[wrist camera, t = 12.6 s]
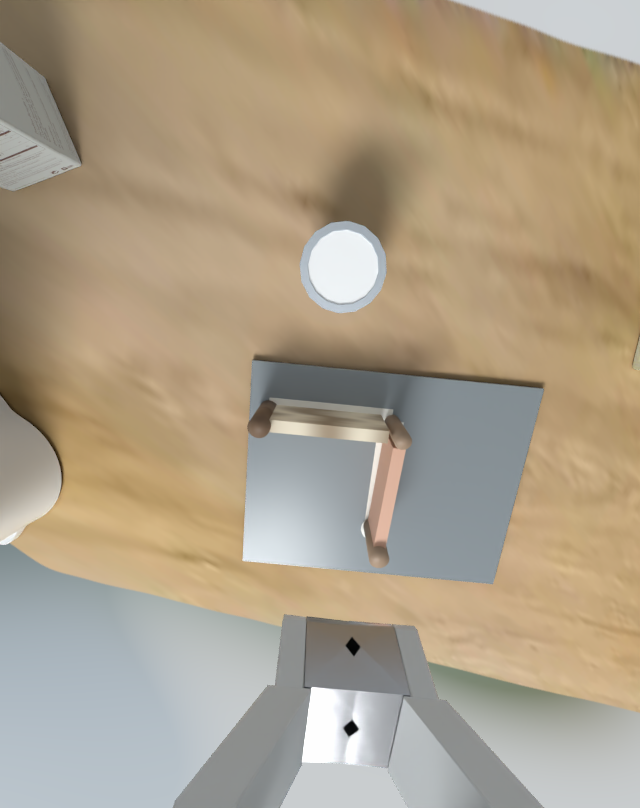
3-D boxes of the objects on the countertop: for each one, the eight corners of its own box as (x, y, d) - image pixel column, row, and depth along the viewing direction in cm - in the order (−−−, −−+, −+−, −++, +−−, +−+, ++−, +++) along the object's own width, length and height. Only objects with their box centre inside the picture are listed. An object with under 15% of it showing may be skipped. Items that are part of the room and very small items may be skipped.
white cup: (334, 326, 37) (336, 331, 30) (290, 270, 35) (281, 262, 28) (389, 280, 35) (404, 274, 29) (345, 220, 34) (350, 199, 27)
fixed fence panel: (258, 417, 39) (247, 437, 33) (259, 399, 38) (248, 415, 32) (378, 429, 39) (388, 450, 33) (381, 411, 38) (391, 429, 32)
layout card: (243, 557, 44) (242, 561, 43) (253, 359, 38) (252, 360, 37) (490, 581, 44) (493, 584, 43) (541, 387, 38) (544, 389, 37)
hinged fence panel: (383, 413, 38) (393, 431, 32) (402, 415, 38) (415, 434, 32) (362, 532, 42) (367, 566, 36) (379, 534, 42) (387, 569, 36)
